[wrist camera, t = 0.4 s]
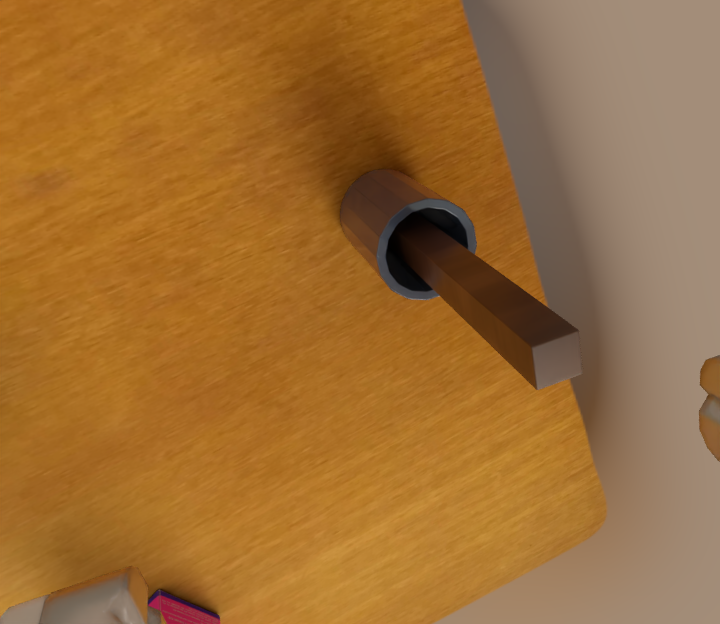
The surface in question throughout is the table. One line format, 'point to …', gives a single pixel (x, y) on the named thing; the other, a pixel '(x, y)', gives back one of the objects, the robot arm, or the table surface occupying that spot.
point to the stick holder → (382, 214)
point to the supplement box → (181, 610)
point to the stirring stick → (491, 304)
